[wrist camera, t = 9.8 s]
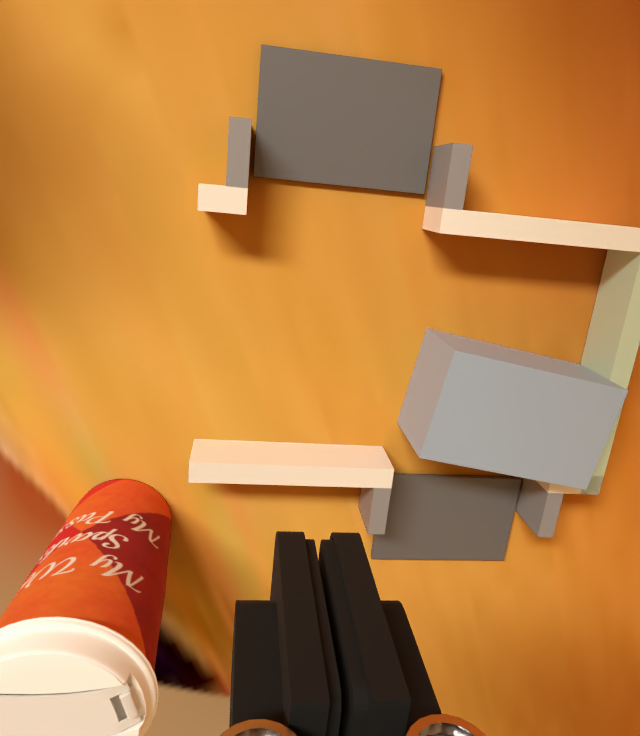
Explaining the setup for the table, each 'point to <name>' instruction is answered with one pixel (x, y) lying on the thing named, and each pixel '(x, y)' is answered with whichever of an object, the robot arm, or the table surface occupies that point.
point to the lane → (442, 215)
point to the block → (508, 410)
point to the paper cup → (89, 621)
